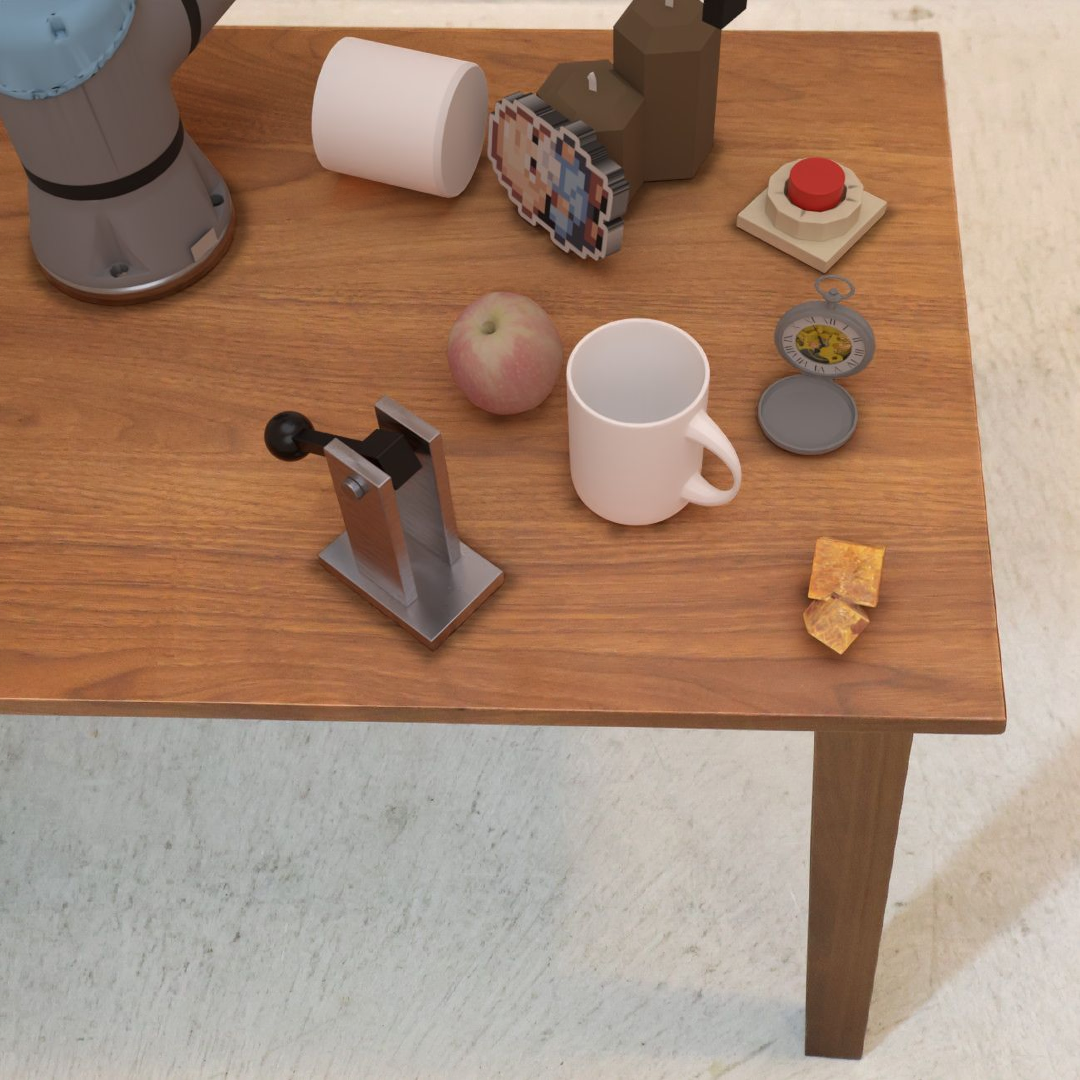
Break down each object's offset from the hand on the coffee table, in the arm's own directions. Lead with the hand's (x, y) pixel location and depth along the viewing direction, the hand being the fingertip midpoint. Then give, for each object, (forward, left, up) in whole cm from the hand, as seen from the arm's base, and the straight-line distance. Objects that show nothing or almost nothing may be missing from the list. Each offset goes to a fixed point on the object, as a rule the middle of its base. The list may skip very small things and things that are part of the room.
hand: (724, 14), depth 87 cm
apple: (-2, -20, -20) cm, 28 cm away
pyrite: (+25, -20, -20) cm, 37 cm away
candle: (-11, +4, -20) cm, 23 cm away
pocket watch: (+15, -8, -20) cm, 26 cm away
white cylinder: (-19, -5, -16) cm, 25 cm away
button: (+4, +7, -17) cm, 19 cm away
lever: (-1, -35, -12) cm, 37 cm away
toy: (-10, -6, -20) cm, 23 cm away
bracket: (+3, -35, -20) cm, 40 cm away
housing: (+4, +7, -20) cm, 22 cm away
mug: (+11, -20, -20) cm, 30 cm away
